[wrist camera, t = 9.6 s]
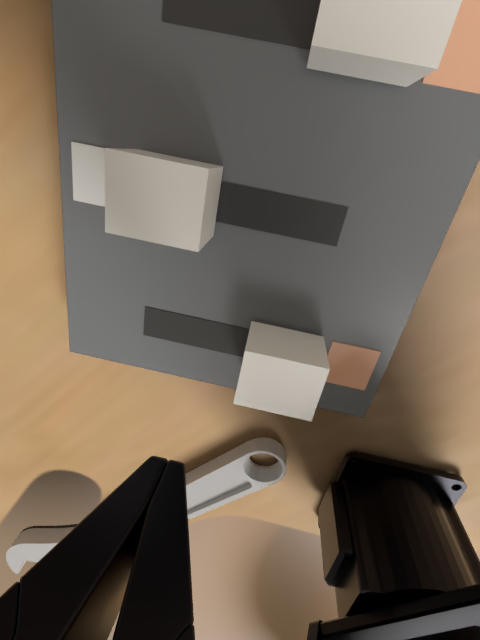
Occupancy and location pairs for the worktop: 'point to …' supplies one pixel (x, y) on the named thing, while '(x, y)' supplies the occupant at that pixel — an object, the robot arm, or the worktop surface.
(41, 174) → the worktop surface
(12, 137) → the worktop surface
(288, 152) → the switch panel
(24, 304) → the worktop surface
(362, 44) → the tab
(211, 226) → the tab
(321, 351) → the tab
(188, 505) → the adjustable wrench
